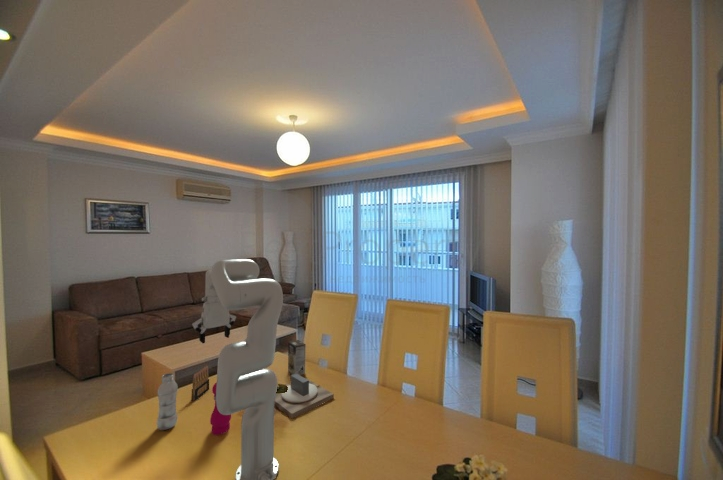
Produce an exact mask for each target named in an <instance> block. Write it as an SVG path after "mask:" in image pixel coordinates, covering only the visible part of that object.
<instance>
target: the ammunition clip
mask: <svg viewBox="0 0 723 480" xmlns="http://www.w3.org/2000/svg"><path fill="white" fill-rule="evenodd" d="M209 390H210V378H209V367H208V365H205V366H203V368H201V369H199V370H198V371H197V372H196V373H194V374H193V378H192V389H191V398H190V399H191V400H190V401H191V402H196V401H197V400H198V399H199V398H201V397H202V396H203V395H204V394H206V393H207V392H208V391H209Z"/></svg>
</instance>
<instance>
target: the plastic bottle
mask: <svg viewBox="0 0 723 480" xmlns="http://www.w3.org/2000/svg"><path fill="white" fill-rule="evenodd" d="M174 378H175V377H174V373H173V372H168V373H166V374H163V375H162V376H161V382H162V383H161V384H160V385H159V387H158V388H157V398H158V413H157V414H158V416H157V418H156V419H157V421H156V427H157V429H158V430H159V431H166V430H169V429H172V428H173V427H174V426H175V425H176V424H177V422H178V413H177V408H176V407H177V402H176V401H177V395H178V388H179V385H178V383H177V382H176V381H175V380H174Z"/></svg>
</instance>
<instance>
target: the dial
mask: <svg viewBox="0 0 723 480" xmlns="http://www.w3.org/2000/svg"><path fill="white" fill-rule="evenodd" d="M305 378H306V377H304V376H302V375H298V374H297V373H296V374H294V375H293V374H291V375H290V384H291V385H289V384H288V385H289V386H287V387H288V390H287V392H285V393H282V398H283V399H284V400H285V401H288V402H292V403H300V402H306V401H309V400H311V399H313V398H314V397H315V396H316V395H317V387H316V386H315V385H313V384H310V383H309V380H310V379H308V378H306V379H305ZM307 379H308V380H307Z"/></svg>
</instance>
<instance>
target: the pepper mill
mask: <svg viewBox="0 0 723 480" xmlns="http://www.w3.org/2000/svg"><path fill="white" fill-rule="evenodd" d="M216 386H217V381H216V382H215V383H214V384H213V386H212V390H211V391H212V392H211V393H212V394H213V400H214V408H213V410H212V413H211V415H210V421H209V422H210V425H211V434H212V435H215V436H216V435H217V436H218V435H219V436H220V435H223V434H225V433H227V432H229V430H230V427H231V425H230V421H231V419H232V414H230V415H222V414H221V413H220V412H219V411H218V409H217V405H216Z"/></svg>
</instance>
